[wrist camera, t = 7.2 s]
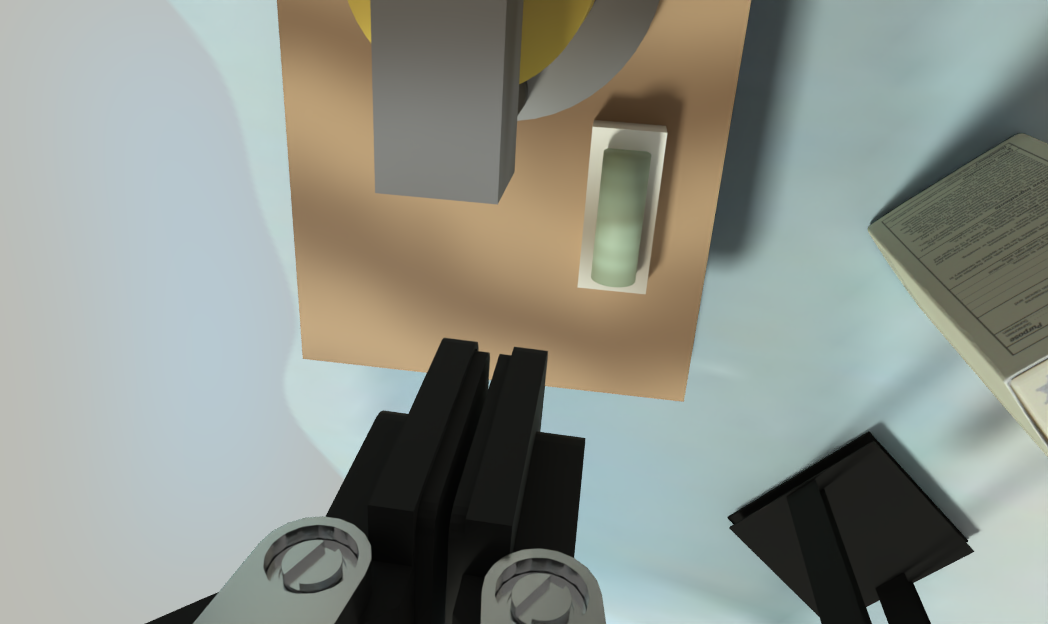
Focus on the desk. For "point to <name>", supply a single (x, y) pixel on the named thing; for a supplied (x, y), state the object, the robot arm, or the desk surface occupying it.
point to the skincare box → (984, 270)
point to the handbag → (852, 536)
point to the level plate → (516, 242)
